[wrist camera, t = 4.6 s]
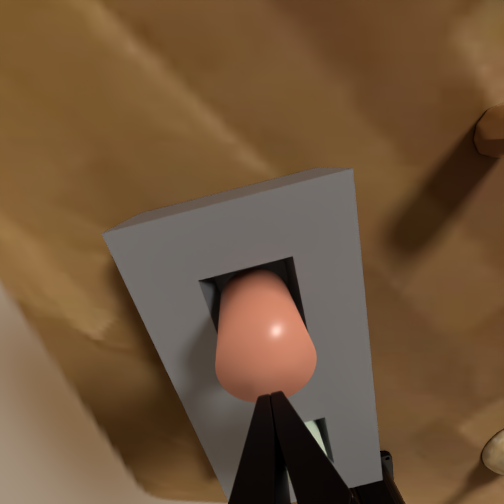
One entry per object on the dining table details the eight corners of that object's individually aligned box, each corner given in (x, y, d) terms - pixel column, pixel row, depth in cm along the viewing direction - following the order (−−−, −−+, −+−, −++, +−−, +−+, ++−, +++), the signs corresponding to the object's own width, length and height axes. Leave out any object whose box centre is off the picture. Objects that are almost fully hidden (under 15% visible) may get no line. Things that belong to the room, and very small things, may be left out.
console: (353, 418, 24) (382, 479, 19) (234, 448, 24) (235, 516, 20) (317, 167, 16) (352, 168, 11) (139, 213, 16) (101, 233, 11)
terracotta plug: (294, 319, 15) (323, 389, 10) (230, 335, 15) (230, 412, 10) (281, 260, 14) (308, 309, 9) (211, 278, 14) (201, 336, 9)
